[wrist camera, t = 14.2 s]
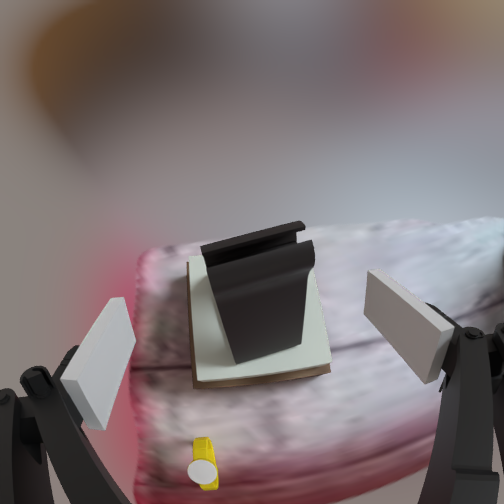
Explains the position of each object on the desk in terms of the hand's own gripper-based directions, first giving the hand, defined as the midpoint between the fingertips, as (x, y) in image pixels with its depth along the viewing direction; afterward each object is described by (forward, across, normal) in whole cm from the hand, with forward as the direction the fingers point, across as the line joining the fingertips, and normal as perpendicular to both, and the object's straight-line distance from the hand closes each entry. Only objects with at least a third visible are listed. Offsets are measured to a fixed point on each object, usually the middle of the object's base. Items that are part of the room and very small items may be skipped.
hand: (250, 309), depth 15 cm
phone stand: (+10, +1, -6) cm, 12 cm away
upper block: (+13, +1, -9) cm, 16 cm away
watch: (+5, -6, -22) cm, 23 cm away
